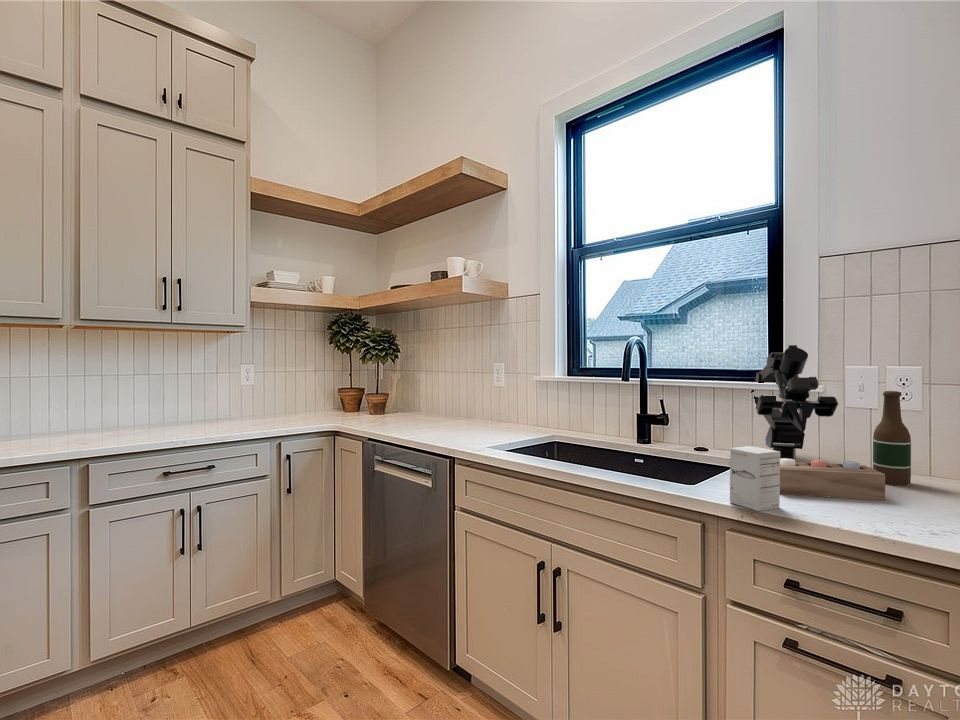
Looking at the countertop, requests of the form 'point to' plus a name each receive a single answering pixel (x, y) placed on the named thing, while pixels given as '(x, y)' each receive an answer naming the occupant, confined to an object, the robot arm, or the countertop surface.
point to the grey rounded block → (851, 465)
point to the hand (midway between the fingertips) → (803, 430)
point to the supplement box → (755, 477)
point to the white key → (787, 462)
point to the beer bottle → (892, 443)
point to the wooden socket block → (832, 481)
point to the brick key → (818, 463)
